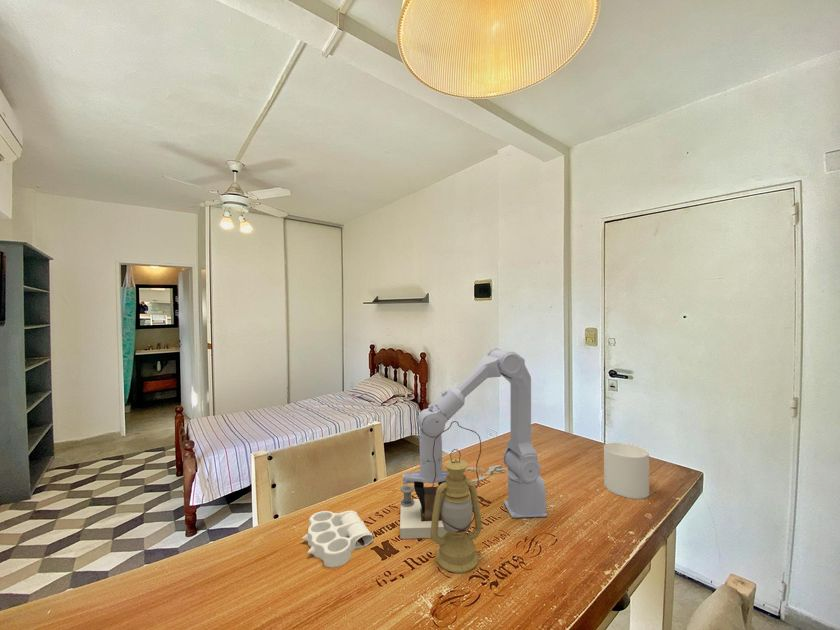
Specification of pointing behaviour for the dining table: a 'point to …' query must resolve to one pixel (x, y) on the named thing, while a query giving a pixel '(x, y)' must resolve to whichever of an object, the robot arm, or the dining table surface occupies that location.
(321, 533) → the white holed flat piece
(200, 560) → the dining table surface
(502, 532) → the dining table surface
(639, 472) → the cup
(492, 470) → the pliers
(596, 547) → the dining table surface
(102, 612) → the dining table surface
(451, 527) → the lantern
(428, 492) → the block
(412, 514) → the slotted board
